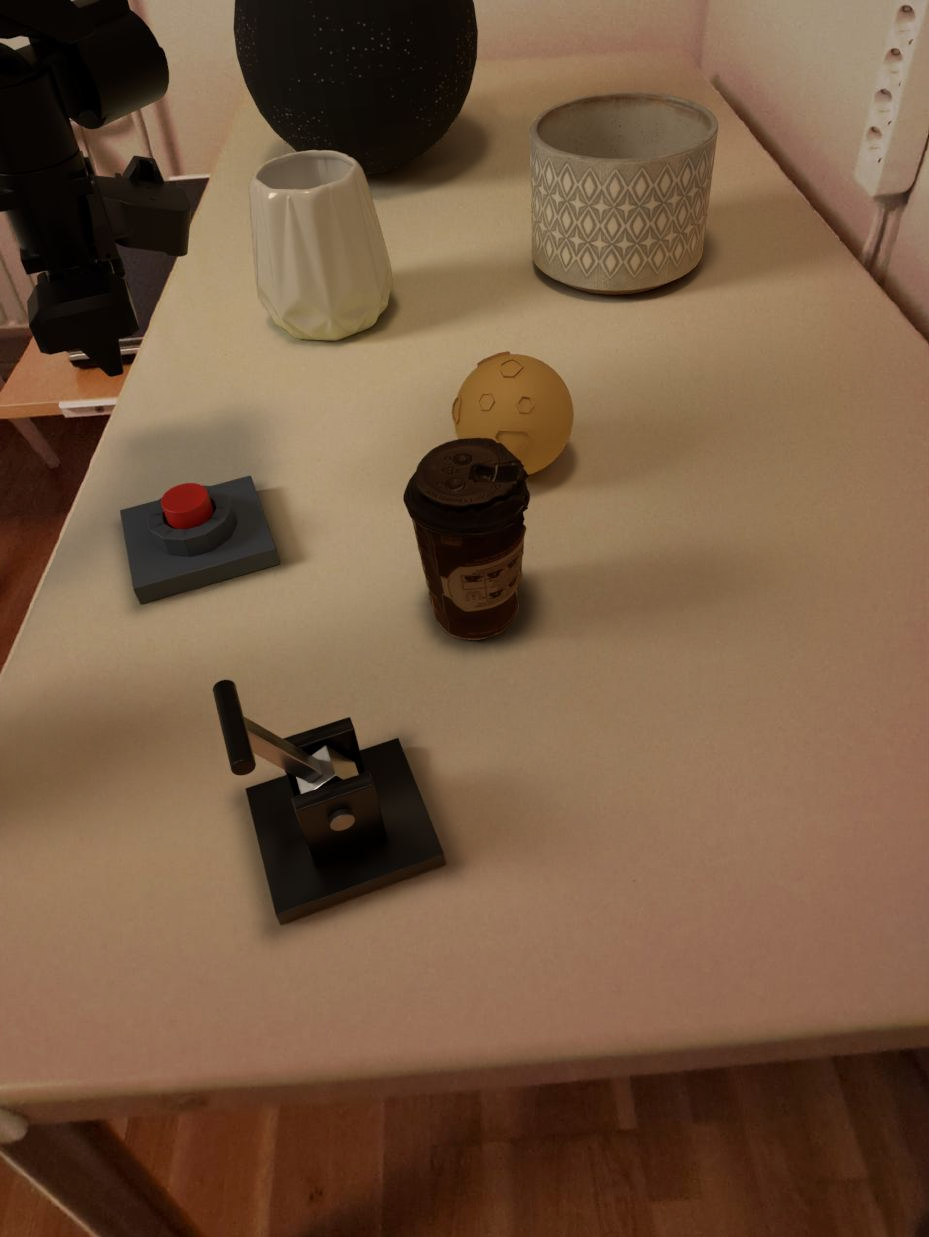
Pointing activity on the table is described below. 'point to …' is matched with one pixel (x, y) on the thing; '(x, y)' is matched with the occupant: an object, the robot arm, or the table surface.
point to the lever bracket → (342, 826)
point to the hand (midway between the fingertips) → (116, 373)
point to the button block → (198, 543)
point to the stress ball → (516, 408)
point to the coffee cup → (470, 533)
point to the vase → (318, 245)
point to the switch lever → (273, 746)
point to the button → (187, 506)
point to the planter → (620, 190)
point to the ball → (358, 72)
